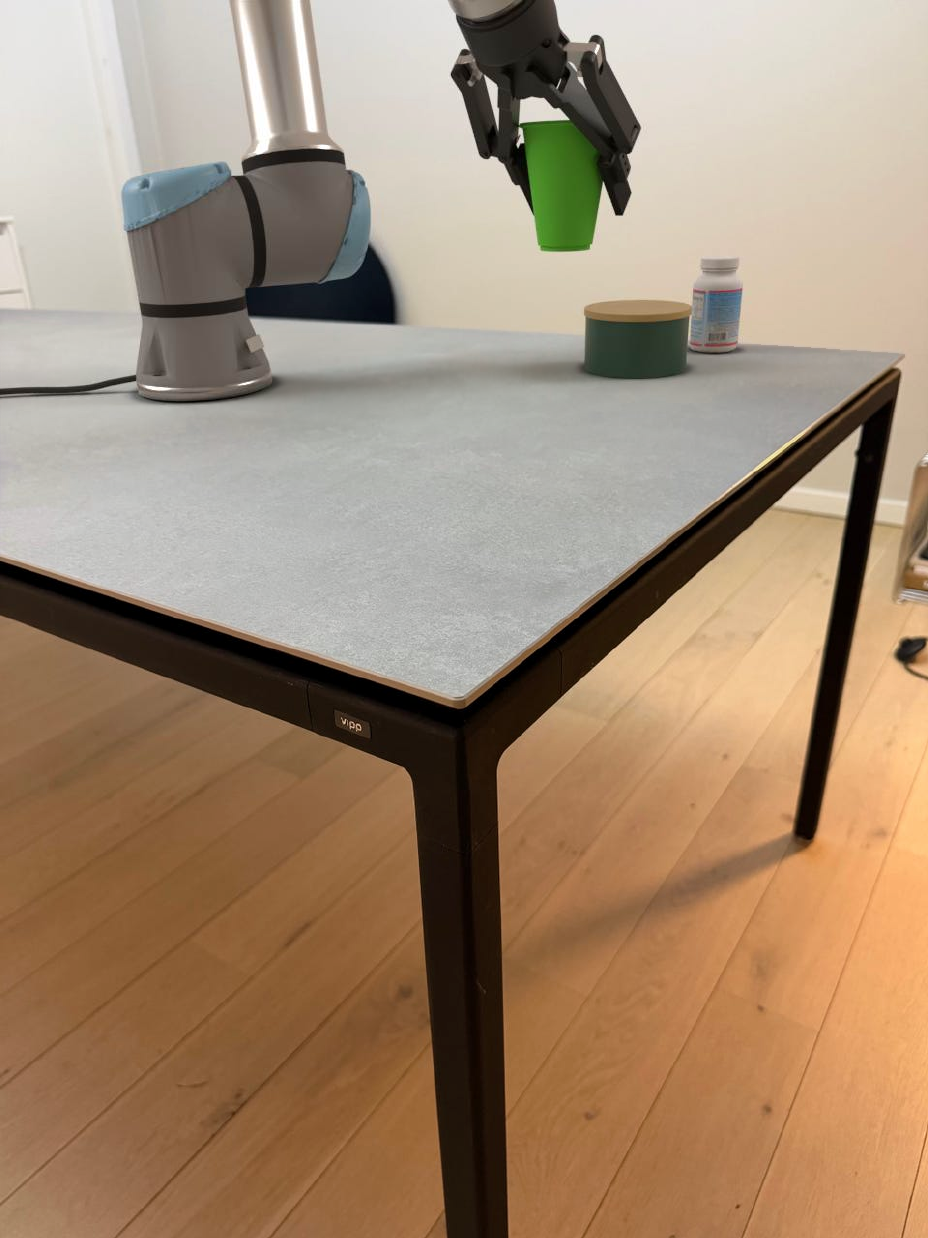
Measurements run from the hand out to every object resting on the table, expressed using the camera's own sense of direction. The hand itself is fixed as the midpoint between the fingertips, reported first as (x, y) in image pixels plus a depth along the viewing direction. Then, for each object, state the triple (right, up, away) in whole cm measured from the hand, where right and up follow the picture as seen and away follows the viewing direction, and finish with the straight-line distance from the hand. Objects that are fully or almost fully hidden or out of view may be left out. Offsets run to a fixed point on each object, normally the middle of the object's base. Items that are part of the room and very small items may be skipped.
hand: (581, 204), depth 91 cm
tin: (+9, -11, +20) cm, 24 cm away
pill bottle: (+21, -6, +29) cm, 36 cm away
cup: (-2, -5, -1) cm, 5 cm away
